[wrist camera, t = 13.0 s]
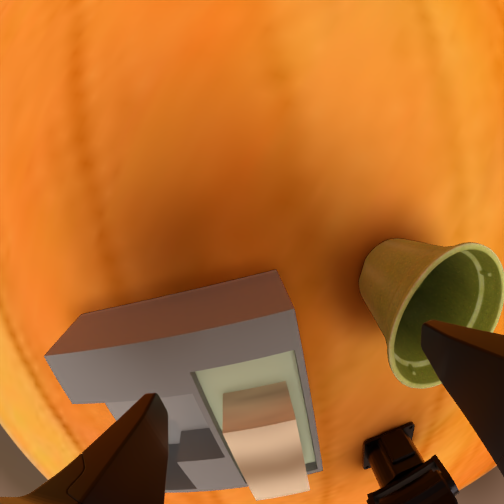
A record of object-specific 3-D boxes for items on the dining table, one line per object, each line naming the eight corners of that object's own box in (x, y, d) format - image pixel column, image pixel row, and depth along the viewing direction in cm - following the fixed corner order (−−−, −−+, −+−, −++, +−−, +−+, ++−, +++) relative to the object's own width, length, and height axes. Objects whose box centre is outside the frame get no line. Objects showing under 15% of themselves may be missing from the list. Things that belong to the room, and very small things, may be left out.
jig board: (307, 420, 26) (323, 470, 20) (154, 444, 26) (144, 492, 19) (276, 269, 22) (294, 308, 15) (81, 314, 22) (44, 355, 15)
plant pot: (447, 283, 23) (511, 323, 15) (368, 347, 24) (414, 411, 16) (410, 194, 21) (489, 210, 13) (315, 265, 22) (362, 319, 13)
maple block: (301, 457, 20) (310, 490, 17) (252, 467, 20) (256, 500, 17) (285, 380, 18) (295, 419, 14) (222, 393, 18) (222, 433, 14)
